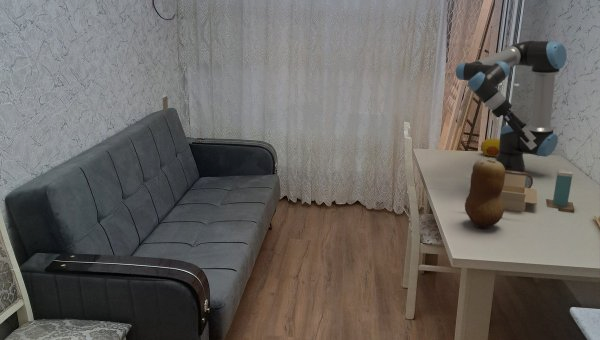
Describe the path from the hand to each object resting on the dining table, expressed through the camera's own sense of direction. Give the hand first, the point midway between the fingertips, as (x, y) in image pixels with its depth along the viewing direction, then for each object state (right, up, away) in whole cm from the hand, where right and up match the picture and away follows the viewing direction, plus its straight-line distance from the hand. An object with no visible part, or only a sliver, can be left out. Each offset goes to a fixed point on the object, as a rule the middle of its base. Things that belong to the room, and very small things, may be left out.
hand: (533, 143), depth 211 cm
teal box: (+11, -25, +1) cm, 27 cm away
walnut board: (+11, -26, +1) cm, 28 cm away
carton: (-10, -25, +5) cm, 27 cm away
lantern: (+14, -3, +81) cm, 82 cm away
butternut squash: (-28, -32, -19) cm, 46 cm away
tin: (+2, -20, +24) cm, 31 cm away
